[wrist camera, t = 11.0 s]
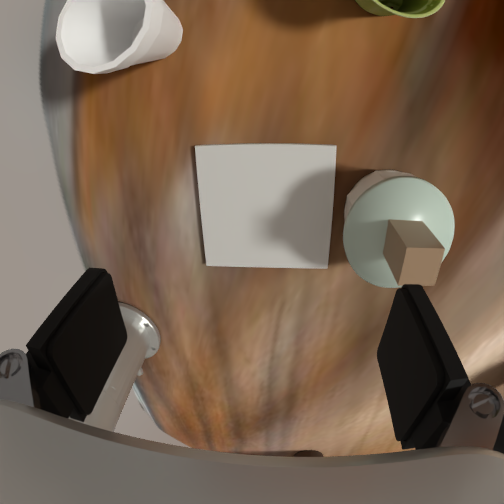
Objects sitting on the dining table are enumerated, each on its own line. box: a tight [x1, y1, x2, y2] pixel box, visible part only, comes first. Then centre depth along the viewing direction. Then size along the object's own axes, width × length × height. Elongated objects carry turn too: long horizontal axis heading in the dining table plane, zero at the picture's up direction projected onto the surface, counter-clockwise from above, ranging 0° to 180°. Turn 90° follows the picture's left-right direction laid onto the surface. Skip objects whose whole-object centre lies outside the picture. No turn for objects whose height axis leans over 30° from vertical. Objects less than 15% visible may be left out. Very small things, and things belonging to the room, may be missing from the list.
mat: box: [195, 143, 336, 269], centre depth 39 cm, size 16×16×1 cm
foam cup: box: [56, 0, 183, 74], centre depth 24 cm, size 10×9×13 cm
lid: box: [343, 176, 454, 288], centre depth 30 cm, size 13×13×7 cm
